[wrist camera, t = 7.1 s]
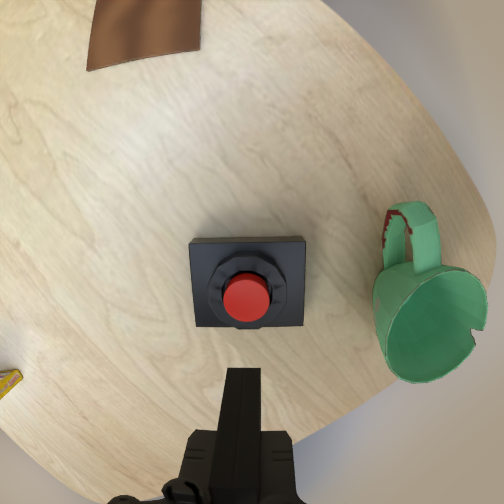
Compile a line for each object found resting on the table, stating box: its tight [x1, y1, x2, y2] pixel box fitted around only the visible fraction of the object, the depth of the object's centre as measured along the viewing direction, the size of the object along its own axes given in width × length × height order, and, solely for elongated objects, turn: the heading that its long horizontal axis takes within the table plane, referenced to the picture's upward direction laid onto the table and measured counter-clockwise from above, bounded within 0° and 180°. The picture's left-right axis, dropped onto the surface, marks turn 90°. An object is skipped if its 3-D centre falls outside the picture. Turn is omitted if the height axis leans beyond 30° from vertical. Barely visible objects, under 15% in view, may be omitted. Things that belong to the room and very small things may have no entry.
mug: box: [373, 201, 488, 384], centre depth 24 cm, size 15×10×10 cm
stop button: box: [223, 273, 270, 322], centre depth 25 cm, size 4×4×2 cm
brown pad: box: [86, 0, 201, 71], centre depth 22 cm, size 12×12×1 cm
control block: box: [189, 236, 306, 329], centre depth 27 cm, size 10×8×4 cm
